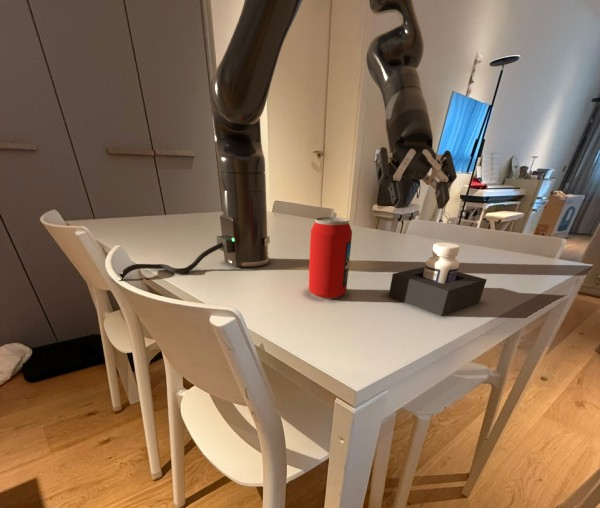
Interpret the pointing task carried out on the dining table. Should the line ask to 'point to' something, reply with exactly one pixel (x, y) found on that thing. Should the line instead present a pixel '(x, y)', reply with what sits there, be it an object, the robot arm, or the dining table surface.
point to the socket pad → (436, 291)
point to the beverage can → (329, 257)
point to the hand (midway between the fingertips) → (421, 205)
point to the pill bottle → (442, 263)
